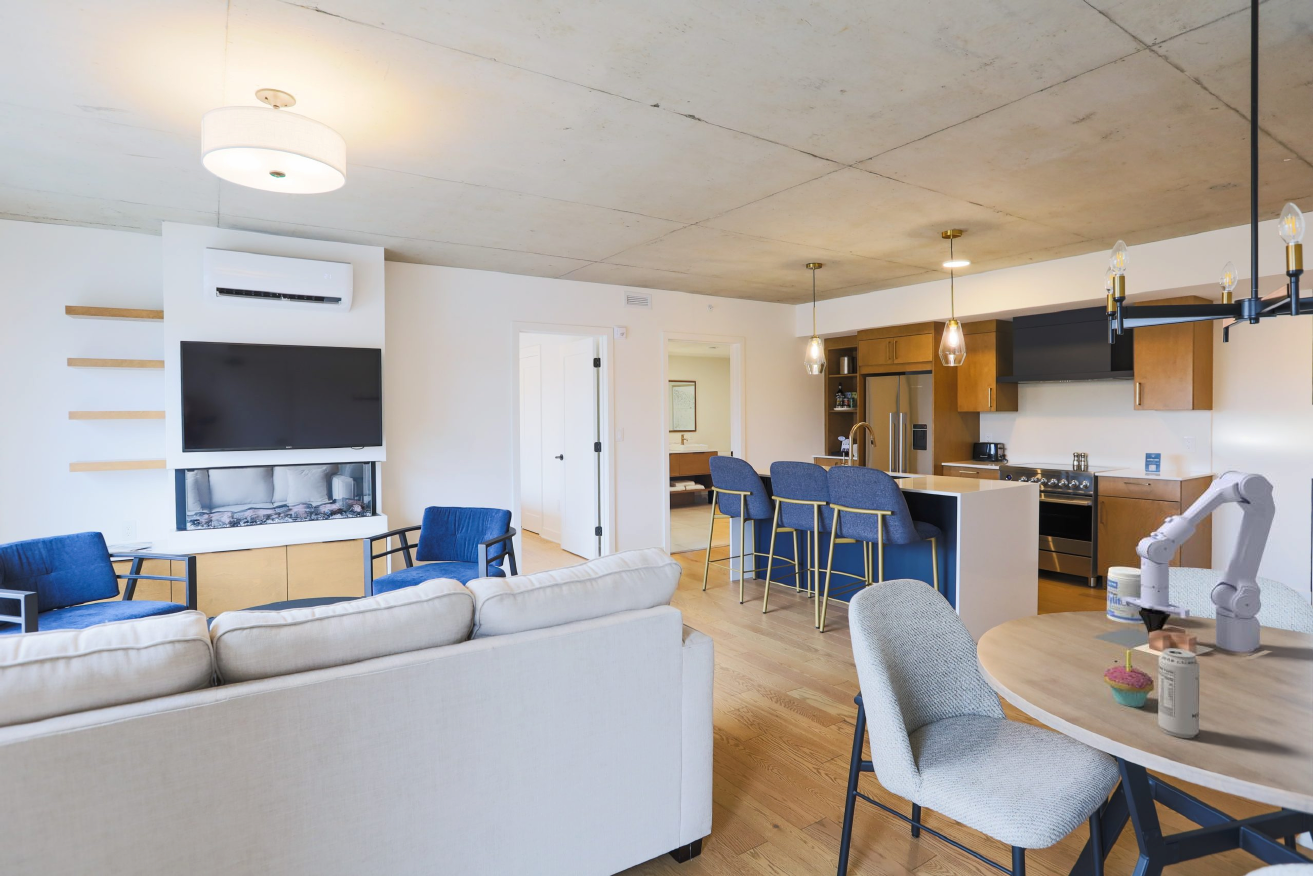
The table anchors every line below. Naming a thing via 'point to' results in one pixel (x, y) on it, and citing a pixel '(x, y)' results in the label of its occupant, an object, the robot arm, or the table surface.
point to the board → (1137, 640)
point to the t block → (1172, 640)
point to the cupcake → (1129, 684)
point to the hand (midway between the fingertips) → (1154, 639)
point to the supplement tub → (1123, 594)
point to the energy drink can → (1178, 693)
